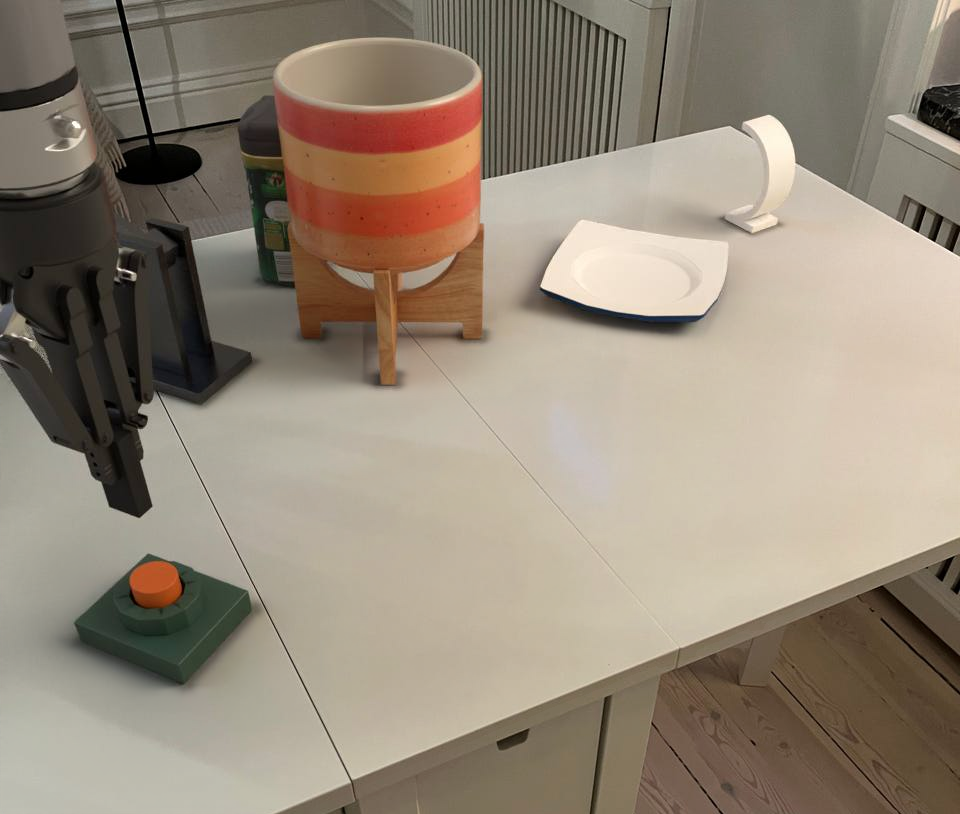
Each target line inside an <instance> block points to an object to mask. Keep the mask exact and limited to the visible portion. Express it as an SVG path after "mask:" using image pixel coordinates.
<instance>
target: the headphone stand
mask: <svg viewBox="0 0 960 814" xmlns="http://www.w3.org/2000/svg"><path fill="white" fill-rule="evenodd" d="M741 131H744V132H746V133H747V134H748V135H749V136H750V137H751V138H752V140H753V141H754V142H755V143H756V146H757V148H758V149H759V153H760V155H761V158H762V163H763V172H764V173H763V183H762V184H763V185H762V189H761V192H760V195H759V197H758V200H757V201H756V203H755V204H754V205H753V204H748V205H745V206H742V207H738V208H735V209H733V210H730V211H727V212H725V214H724V220H726V221H728V222H730V223H732V224H734V225H735V226H737V227H739V228H741V229H743V230H745V231H747V232H748V233H750V234H754V233H756V232H759V231H762V230H765V229H768V228H770V227H773V226H776V225H777V224H778V221H779V217H776V216H775V215H774V214H770V213H771V212H773V211H775V210H777V209H778V208H779V207H780V206H781V205H782V204H783V203H785V201H786V199H787V198H788V196H789V195H790V192H791V190H792V187H793V184H794V180H795V174H796V155H795V149H794V144H793V142H792V140H791V137H790V134H789V132H788V131H787V129H786V128H785V126H784V125H783V124H782V122H780V121H779V120H778V119H777V118H776V117H774V116H773V115H772V114H767V115H762V116H760V117H756V118H753V119H749V120H746V121H743V122H742V125H741Z"/></svg>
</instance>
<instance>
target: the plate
mask: <svg viewBox="0 0 960 814" xmlns="http://www.w3.org/2000/svg"><path fill="white" fill-rule="evenodd" d="M729 247H730V245H729V242H727V241H723V240H711V239H703V238H702V239H701V238H689V237H681V236H673V235H667V234H661V233H653V232H649V231H642V230H635V229H630V228H623V227H620V226H614V225H611V224H606V223H605V224H604V223H600V222H595V221H592V220H591V221H590V220H587V219H581V220H579V221H578V222H577V223H576V224H575V226H574V227H573V229H572V230H571V231H570V232H569V233H568V235H567V236H566V237H565V239H564V240H563V241H562V243H561V244H560V246H559V247H558V248H557V250H556V252H555V253H554V255H553V256H552V258H551V260H550V261H549V264H548V266H547V267H546V269H545V272H544V274H543V278H542V281H541V284H540V286H539V290H540V291H541V292H542V293H543V294H544V295H545V296H546V297H547V298H549V299H553V300H555V301H558V302H561V303H564V304H567V305H569V306H572V307H575V308H578V309H581V310H584V311H587V312H592V313H596V314H602V315H607V316H613V317H617V318H625V319H631V320H636V321H643V322H653V323H655V322H656V323H657V322H659V323H664V322H665V323H666V322H667V323H695V322H698V321H700V320H701V319H703V318H704V317H705V316H706V315H707V314H708V312H709V311H710V310H711V309H712V308H713V307H714V305H715V304H716V303H717V301H719V297H720V296H721V293H722V290H723V288H724V285H725V281H726V277H727V273H728V262H729Z"/></svg>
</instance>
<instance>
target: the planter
mask: <svg viewBox="0 0 960 814" xmlns="http://www.w3.org/2000/svg"><path fill="white" fill-rule="evenodd" d="M272 87H273V96H274V98H275V107H276V115H277V122H278V129H279V136H280V143H281V151H282V159H283V167H284V176H285V184H286V193H287V202H288V209H289V217H290V222H289V225H288V236H289V243H290V250H291V258H292V266H293V274H294V281H295V285H294V288H295V296H296V303H297V304H296V305H297V312H298V313H297V314H298V320H299V327H300V336H301V338H302V339H320V338H321V337H322V334H323V333H322V332H323V328H322V323H332V322H333V323H376V333H377V335H376V336H377V348H378V349H377V350H378V362H379V363H378V364H379V378H380V385H383V386H385V385H387V386H388V385H389V386H391V385H392V386H393V385H394V386H395V385H396V383H397V362H396V355H397V353H396V352H397V341H398V340H397V339H398V330H399V329H398V327H399V323H461V324H462V338H463V339H465V340H467V339H468V340H480V339H482V338H483V312H484V311H483V307H484V306H483V305H484V252H485V251H484V247H485V246H484V245H485V224H484V223H483V222H481V205H482V204H481V203H482V128H483V127H482V126H483V75H482V71H481V67H480V66H479V65H478V63H477V62H476V61H475V60H474V59H473V58H471V57H470V56H469V55H468V54H465V53H463V52H462V51H460V50H458V49H455V48H453V47H450V46H446V45H443V44H440V43H436V42H431V41H426V40H420V39H419V40H418V39H414V38H413V39H412V38H401V37H360V38H359V37H358V38H347V39H341V40H340V39H339V40H334V41H328V42H323V43H320V44H316V45H312V46H309V47H306V48H302V49H300V50H297V51H295V52H293V53H291V54H290V55H288V56H286V57H285V58H284V59H282V60H281V61H280V62H279V63H278V64H277V66H276V67H275V69H274V71H273V75H272ZM454 255H455V256H454ZM452 256H454V257H453V259H452V261H451V262H450V263H449V264H448V266H447V267H446V268H444V270H443V272H441V273H440V274H439V275H438V276H436V277H435V278H434V279H432V280H431V281H429V282H427V283H425V284H423V285H421V286H418V287H415V288H410V289H405V290H403V274H405V273H406V274H407V273H411V272H416V271H417V272H418V271H420V270H423V269H427V268H430V267H432V266H435V265H436V264H439V263H440V262H442V261H444V260H445V259H447V258H450V257H452ZM325 260H327V262H326V261H325ZM328 262H329V263H332V264H334V265H335V266H338V267H341V268H343V269H345V270H350V271H353V272H359V273H364V274H371V275H372V274H373V275H372V276H373V289H371V288H367V287H364V286H361V285H358V284H356V283H354V282H352V281H350V280H348V279H346V278H345V277H343V276H342V275H340V274H339V273H338V272H337V271H335V270H334V269H333V267H331V266H330V264H329V263H328Z"/></svg>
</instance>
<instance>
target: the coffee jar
mask: <svg viewBox="0 0 960 814" xmlns="http://www.w3.org/2000/svg"><path fill="white" fill-rule="evenodd" d="M237 133H238V142H239V148H240V150H239V151H240V155H241V160H242V163H243V167H244V173H245V177H246V182H247V183H246V184H247V190H248V196H249V203H250V209H251V216H252V217H251V218H252V223H253V230H254V238H255V246H256V251H257V259H258V266H259V272H260V275H261V277H262V278H263V279H264V280H266V281H268V282H272V283H275V284H278V285H283V286H295V281H294V274H293V266H292V258H291V250H290V243H289V236H288V225H289V222H290V217H289V209H288V202H287V193H286V184H285V176H284V167H283V159H282V151H281V143H280V136H279V129H278V122H277V115H276V107H275V98H274V95H271V94H270V95H267V94H266V95H263V96H262V97H261V99H260V98H259V100H257V101H255V102H253V104H251V105H250V106H248V107H247V108H246V110H245V111H244V113H243V114H242V116H241V117H240V119H239V121H238V124H237ZM325 261H326V262H327V263H328V261H327V260H325Z"/></svg>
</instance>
